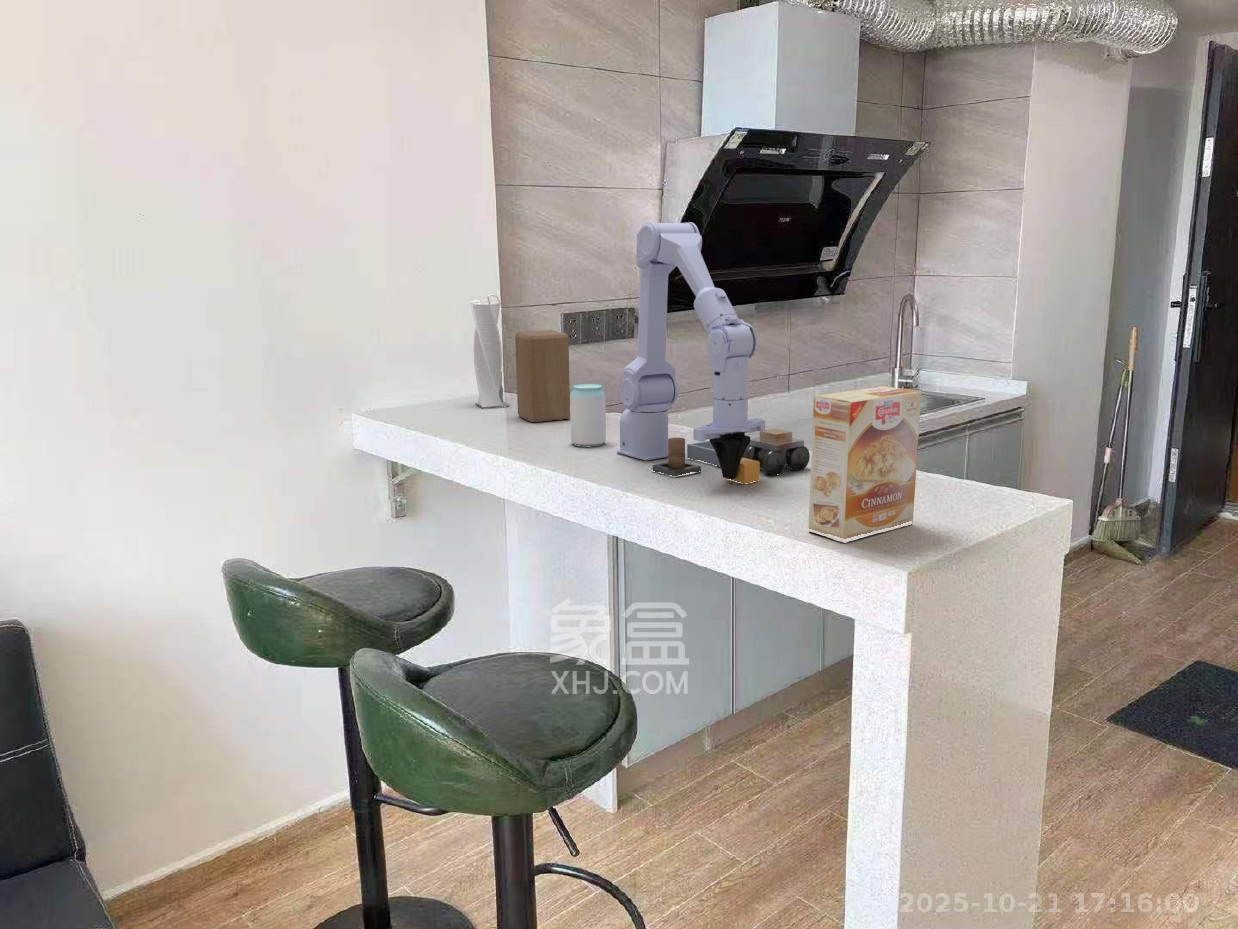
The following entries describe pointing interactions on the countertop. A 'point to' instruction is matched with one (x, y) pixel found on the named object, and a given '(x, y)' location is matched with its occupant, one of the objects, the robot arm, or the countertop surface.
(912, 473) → the coffeecake box
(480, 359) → the skyscraper
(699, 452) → the tray
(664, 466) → the socket ring
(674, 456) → the pin
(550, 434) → the countertop surface
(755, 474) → the block
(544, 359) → the block
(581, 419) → the can
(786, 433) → the trolley
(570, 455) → the countertop surface
